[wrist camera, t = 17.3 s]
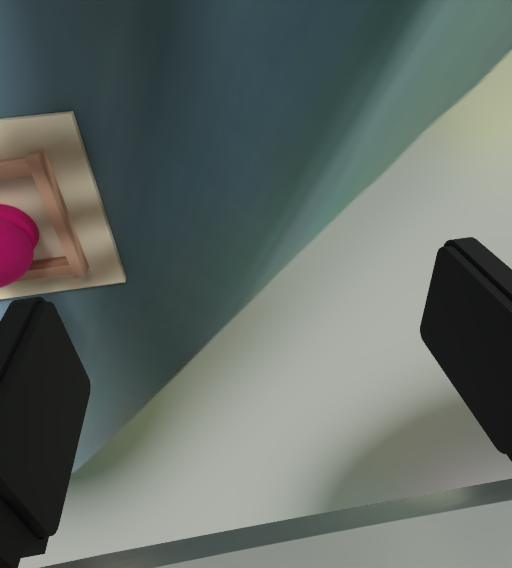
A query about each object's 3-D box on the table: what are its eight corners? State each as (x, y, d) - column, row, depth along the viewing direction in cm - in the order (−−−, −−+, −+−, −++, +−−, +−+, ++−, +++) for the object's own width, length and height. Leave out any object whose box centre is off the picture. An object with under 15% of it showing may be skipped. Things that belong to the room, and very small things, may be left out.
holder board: (-145, 134, 38) (-169, 144, 35) (73, 110, 39) (65, 119, 37) (-38, 300, 50) (-51, 316, 47) (126, 277, 51) (123, 292, 49)
